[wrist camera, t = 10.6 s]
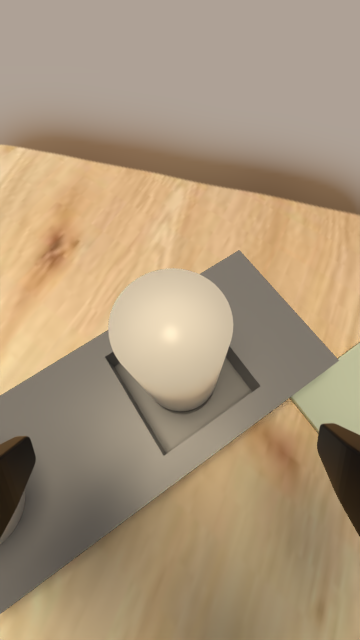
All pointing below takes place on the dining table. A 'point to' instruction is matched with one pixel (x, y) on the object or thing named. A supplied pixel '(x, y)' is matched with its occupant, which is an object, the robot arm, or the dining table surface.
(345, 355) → the coaster
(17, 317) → the dining table surface
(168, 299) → the cream rounded peg
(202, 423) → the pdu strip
